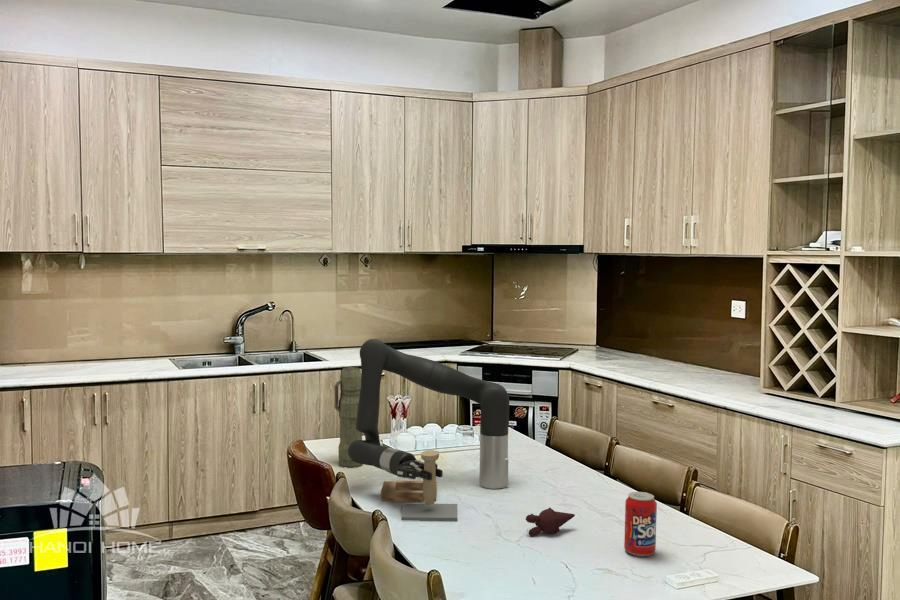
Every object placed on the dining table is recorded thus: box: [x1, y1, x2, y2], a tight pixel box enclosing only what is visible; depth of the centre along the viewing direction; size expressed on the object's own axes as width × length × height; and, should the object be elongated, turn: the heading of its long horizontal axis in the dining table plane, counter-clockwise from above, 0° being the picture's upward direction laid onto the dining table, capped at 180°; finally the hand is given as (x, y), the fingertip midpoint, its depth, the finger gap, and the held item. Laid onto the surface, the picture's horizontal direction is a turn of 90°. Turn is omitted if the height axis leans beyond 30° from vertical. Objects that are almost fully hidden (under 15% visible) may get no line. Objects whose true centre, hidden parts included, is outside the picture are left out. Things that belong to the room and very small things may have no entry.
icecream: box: [525, 507, 576, 537], centre depth 212 cm, size 7×7×15 cm
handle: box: [420, 449, 440, 505], centre depth 225 cm, size 5×6×15 cm
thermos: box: [333, 366, 364, 469], centre depth 275 cm, size 9×12×35 cm
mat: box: [400, 502, 458, 522], centre depth 226 cm, size 16×12×1 cm
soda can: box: [623, 491, 658, 557], centre depth 198 cm, size 8×8×15 cm
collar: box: [380, 480, 438, 503], centre depth 242 cm, size 17×12×3 cm
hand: (436, 475), depth 223 cm, fingers closed on handle, 3 cm apart
